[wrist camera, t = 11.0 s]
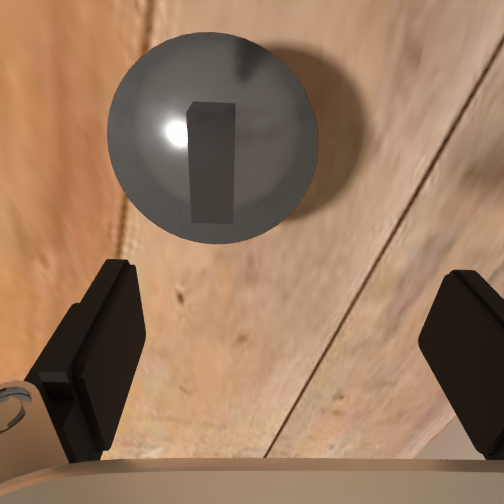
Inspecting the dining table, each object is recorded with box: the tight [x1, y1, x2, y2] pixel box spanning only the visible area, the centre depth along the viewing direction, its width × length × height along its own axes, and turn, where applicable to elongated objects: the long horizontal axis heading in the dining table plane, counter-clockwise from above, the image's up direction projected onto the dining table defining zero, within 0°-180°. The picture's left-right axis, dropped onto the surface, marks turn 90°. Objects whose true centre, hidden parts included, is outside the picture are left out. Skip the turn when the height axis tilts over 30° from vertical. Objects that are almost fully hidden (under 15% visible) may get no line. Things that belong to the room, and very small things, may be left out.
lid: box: [107, 32, 318, 244], centre depth 27 cm, size 17×17×5 cm
